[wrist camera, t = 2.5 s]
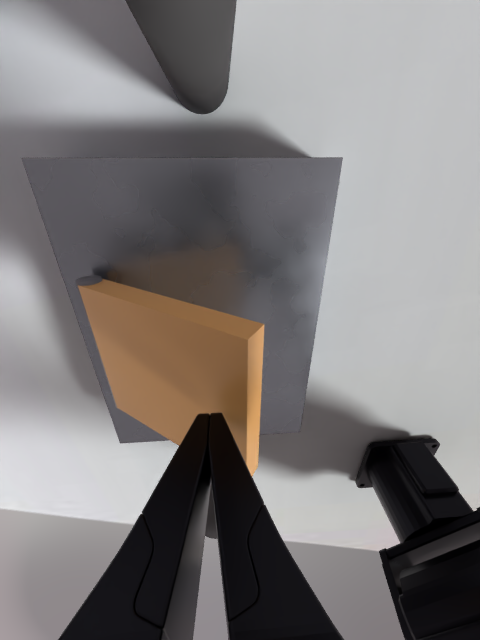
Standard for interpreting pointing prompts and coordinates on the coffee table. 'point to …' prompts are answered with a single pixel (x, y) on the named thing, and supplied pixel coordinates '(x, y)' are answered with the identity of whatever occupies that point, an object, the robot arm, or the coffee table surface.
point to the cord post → (190, 46)
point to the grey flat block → (201, 250)
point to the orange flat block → (177, 361)
